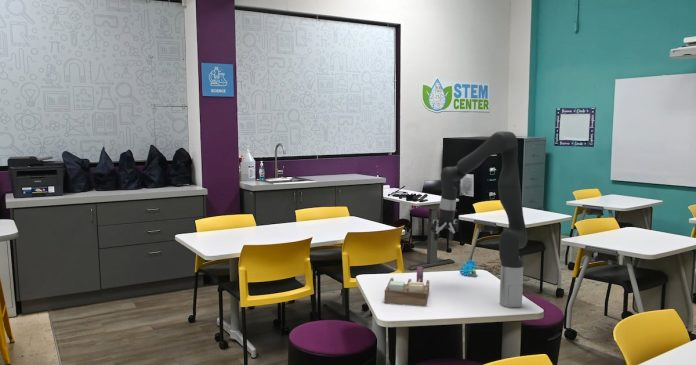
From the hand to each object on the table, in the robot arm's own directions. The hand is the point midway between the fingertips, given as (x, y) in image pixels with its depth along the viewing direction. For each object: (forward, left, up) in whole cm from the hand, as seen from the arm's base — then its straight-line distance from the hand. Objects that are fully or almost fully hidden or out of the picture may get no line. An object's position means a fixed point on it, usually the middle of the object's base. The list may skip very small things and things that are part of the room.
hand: (443, 240), depth 261 cm
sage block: (-22, +28, -19) cm, 40 cm away
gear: (+18, -20, -23) cm, 35 cm away
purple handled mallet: (-15, +16, -21) cm, 31 cm away
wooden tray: (-17, +22, -22) cm, 35 cm away
